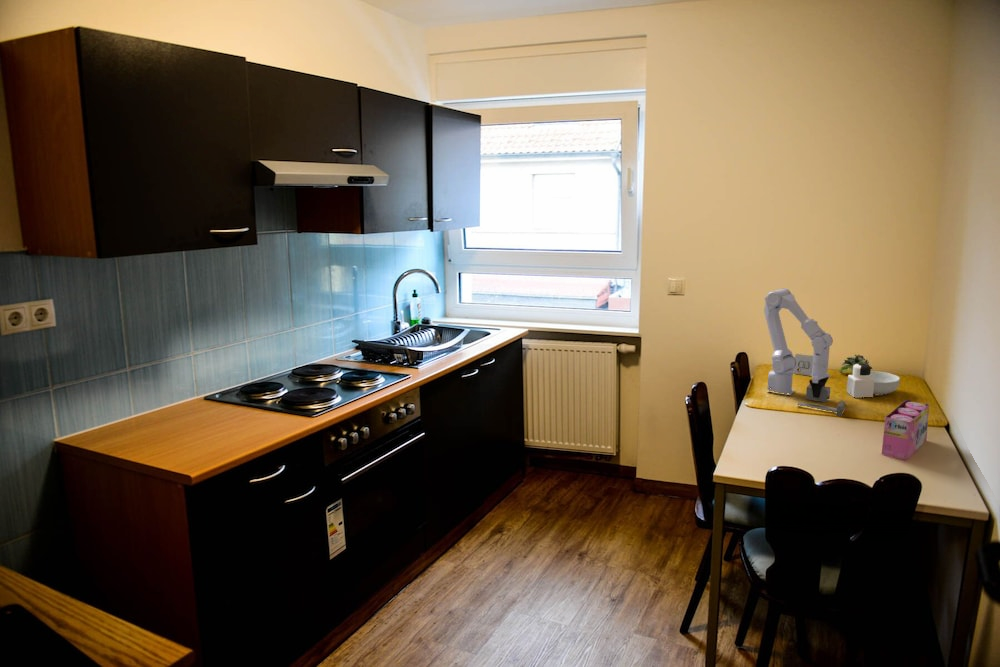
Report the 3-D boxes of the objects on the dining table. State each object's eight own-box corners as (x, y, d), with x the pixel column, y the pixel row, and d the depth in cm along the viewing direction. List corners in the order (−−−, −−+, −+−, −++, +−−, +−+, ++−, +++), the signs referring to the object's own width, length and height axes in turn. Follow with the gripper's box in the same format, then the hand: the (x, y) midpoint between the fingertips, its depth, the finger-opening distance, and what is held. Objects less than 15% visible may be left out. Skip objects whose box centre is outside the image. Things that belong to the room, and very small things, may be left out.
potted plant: (856, 384, 328) (875, 364, 324) (856, 386, 318) (875, 366, 314) (835, 368, 332) (854, 348, 328) (834, 370, 322) (853, 350, 318)
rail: (795, 409, 284) (796, 399, 283) (800, 404, 289) (800, 394, 288) (840, 416, 274) (841, 406, 273) (844, 411, 280) (845, 401, 279)
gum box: (903, 434, 255) (907, 398, 252) (928, 439, 250) (932, 402, 247) (880, 454, 239) (884, 416, 236) (906, 460, 233) (911, 421, 230)
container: (865, 391, 300) (867, 362, 297) (873, 397, 293) (875, 367, 290) (846, 392, 301) (848, 362, 298) (853, 398, 294) (856, 367, 290)
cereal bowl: (875, 384, 310) (876, 368, 308) (908, 395, 295) (909, 379, 293) (844, 389, 305) (845, 373, 303) (876, 401, 289) (877, 384, 288)
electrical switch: (792, 373, 329) (794, 354, 327) (795, 372, 333) (797, 352, 331) (813, 377, 323) (815, 356, 322) (816, 375, 327) (818, 355, 326)
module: (805, 398, 292) (806, 385, 291) (808, 395, 296) (809, 382, 295) (826, 402, 288) (827, 388, 286) (829, 398, 292) (830, 385, 290)
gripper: (826, 369, 280) (824, 402, 284) (835, 360, 292) (832, 392, 295) (808, 366, 284) (805, 399, 288) (816, 358, 296) (814, 389, 299)
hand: (817, 395), depth 292 cm, fingers closed on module, 5 cm apart
